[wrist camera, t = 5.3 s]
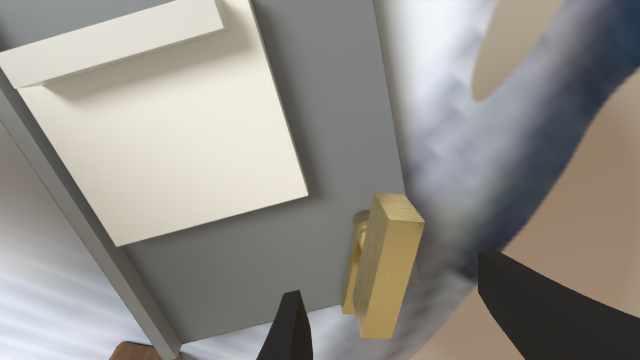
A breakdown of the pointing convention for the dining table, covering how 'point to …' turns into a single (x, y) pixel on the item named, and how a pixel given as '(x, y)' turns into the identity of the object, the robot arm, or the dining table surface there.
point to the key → (381, 263)
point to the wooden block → (136, 352)
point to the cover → (164, 116)
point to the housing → (257, 225)
